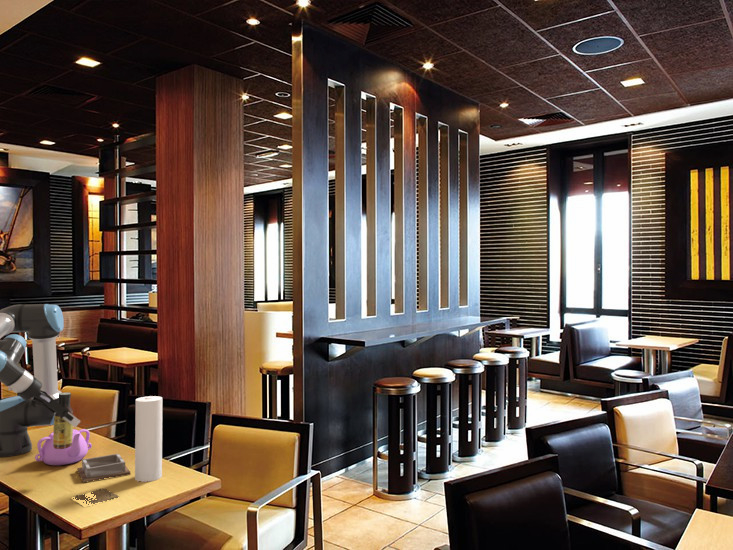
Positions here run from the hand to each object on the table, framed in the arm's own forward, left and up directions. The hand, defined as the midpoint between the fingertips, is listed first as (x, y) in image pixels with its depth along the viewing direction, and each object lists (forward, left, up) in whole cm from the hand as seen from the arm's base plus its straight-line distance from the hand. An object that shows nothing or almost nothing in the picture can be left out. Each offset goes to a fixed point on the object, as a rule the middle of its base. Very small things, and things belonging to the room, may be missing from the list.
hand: (73, 422), depth 206 cm
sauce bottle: (+1, -3, -9) cm, 9 cm away
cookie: (+24, +4, -22) cm, 32 cm away
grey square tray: (-1, +11, -21) cm, 24 cm away
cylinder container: (+14, +24, -21) cm, 35 cm away
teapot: (-23, +1, -21) cm, 31 cm away
